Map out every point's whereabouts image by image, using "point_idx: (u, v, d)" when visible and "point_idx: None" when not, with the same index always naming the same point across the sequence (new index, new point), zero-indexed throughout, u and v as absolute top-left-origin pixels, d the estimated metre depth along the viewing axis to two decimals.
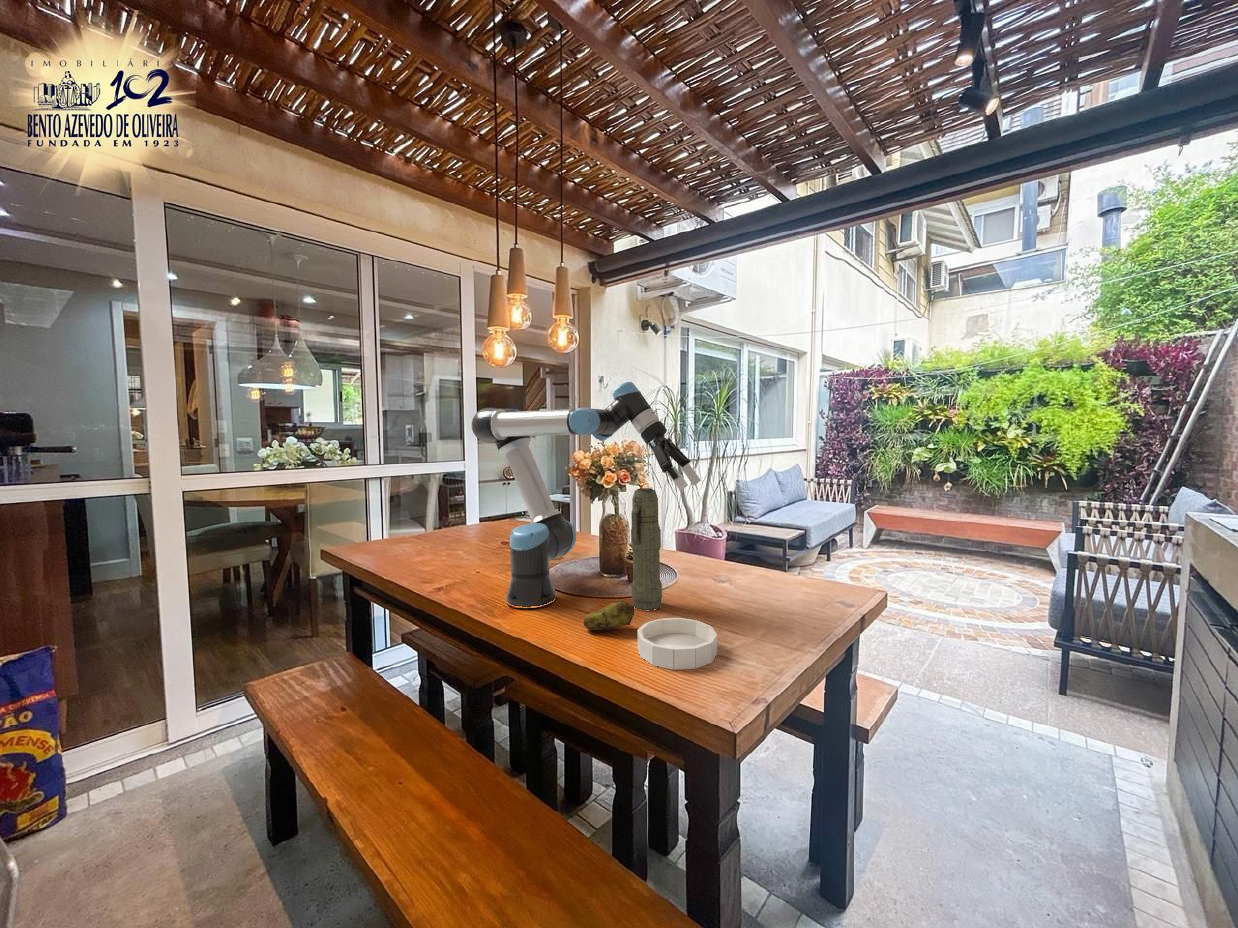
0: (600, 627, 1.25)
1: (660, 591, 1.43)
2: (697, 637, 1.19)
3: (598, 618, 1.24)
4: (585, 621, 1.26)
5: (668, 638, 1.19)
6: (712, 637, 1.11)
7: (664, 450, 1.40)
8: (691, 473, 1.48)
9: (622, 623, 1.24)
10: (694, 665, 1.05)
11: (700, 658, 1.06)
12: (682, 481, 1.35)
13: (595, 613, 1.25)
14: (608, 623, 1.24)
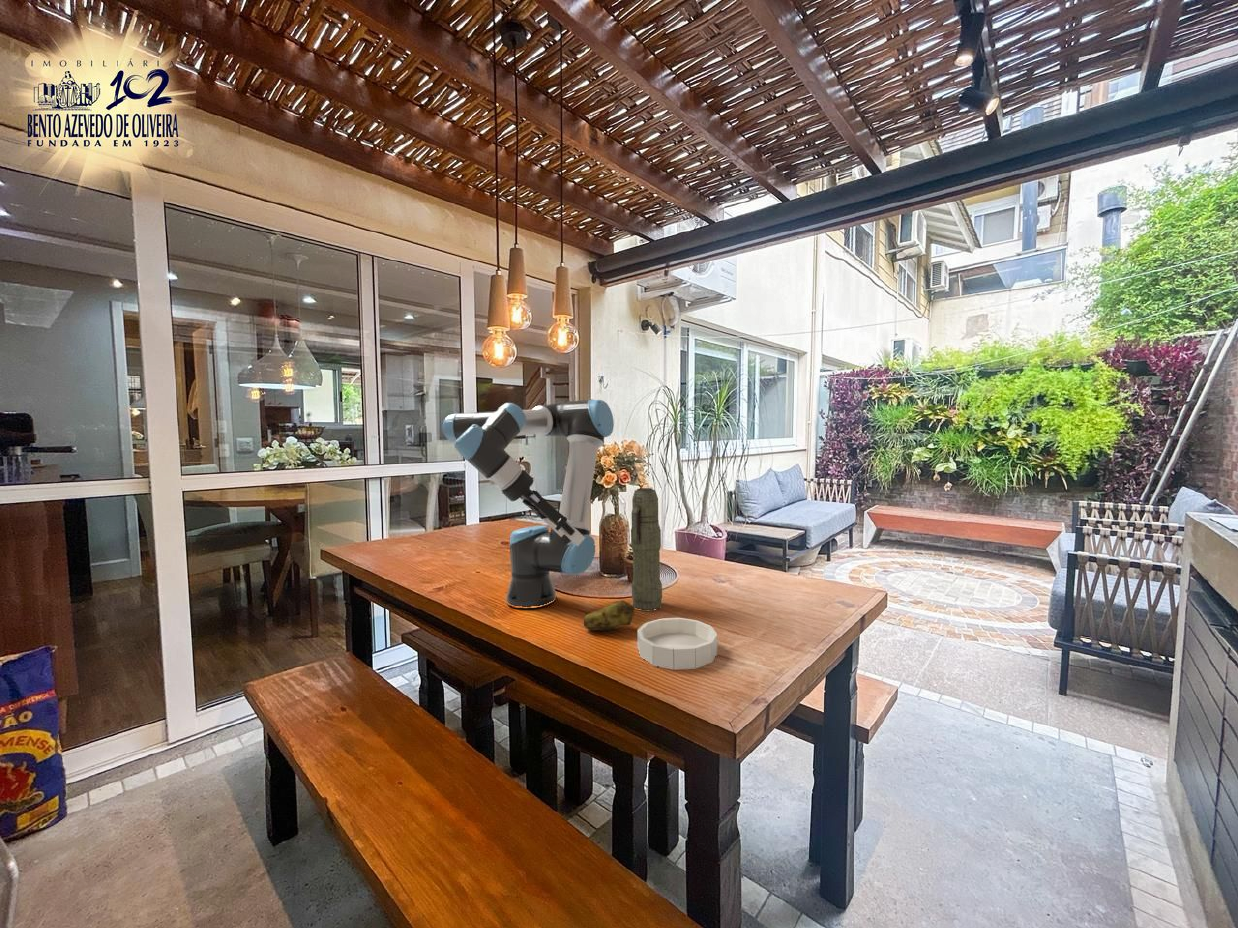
0: (600, 627, 1.25)
1: (660, 591, 1.43)
2: (697, 637, 1.19)
3: (598, 618, 1.24)
4: (585, 621, 1.26)
5: (668, 638, 1.19)
6: (712, 637, 1.11)
7: None
8: None
9: (622, 623, 1.24)
10: (694, 665, 1.05)
11: (700, 658, 1.06)
12: None
13: (595, 613, 1.25)
14: (608, 623, 1.24)
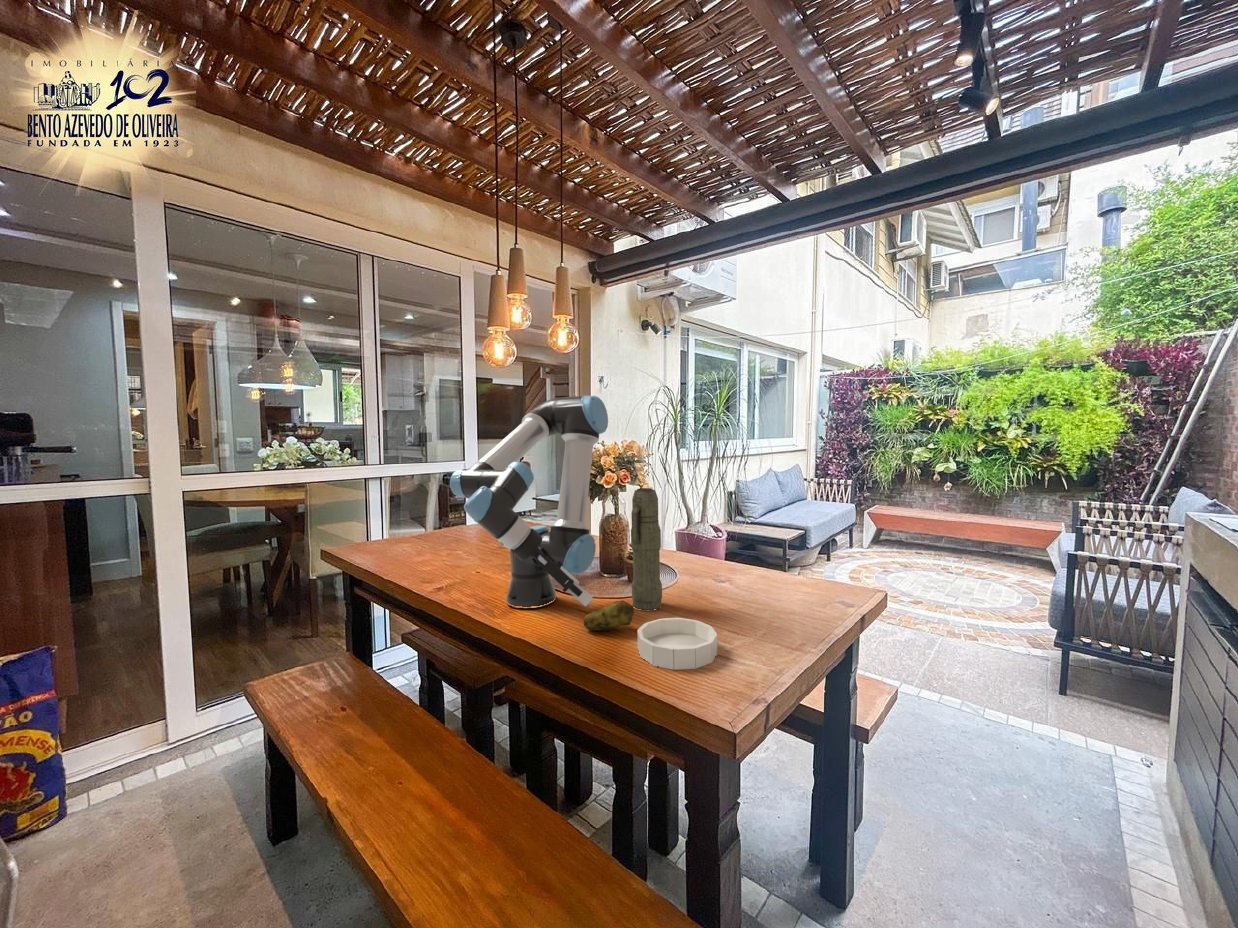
0: (599, 628, 1.25)
1: (660, 591, 1.43)
2: (697, 637, 1.19)
3: (598, 619, 1.24)
4: (585, 621, 1.26)
5: (668, 638, 1.19)
6: (712, 637, 1.11)
7: None
8: None
9: (622, 623, 1.24)
10: (694, 665, 1.05)
11: (700, 658, 1.06)
12: None
13: (595, 613, 1.25)
14: (608, 623, 1.24)
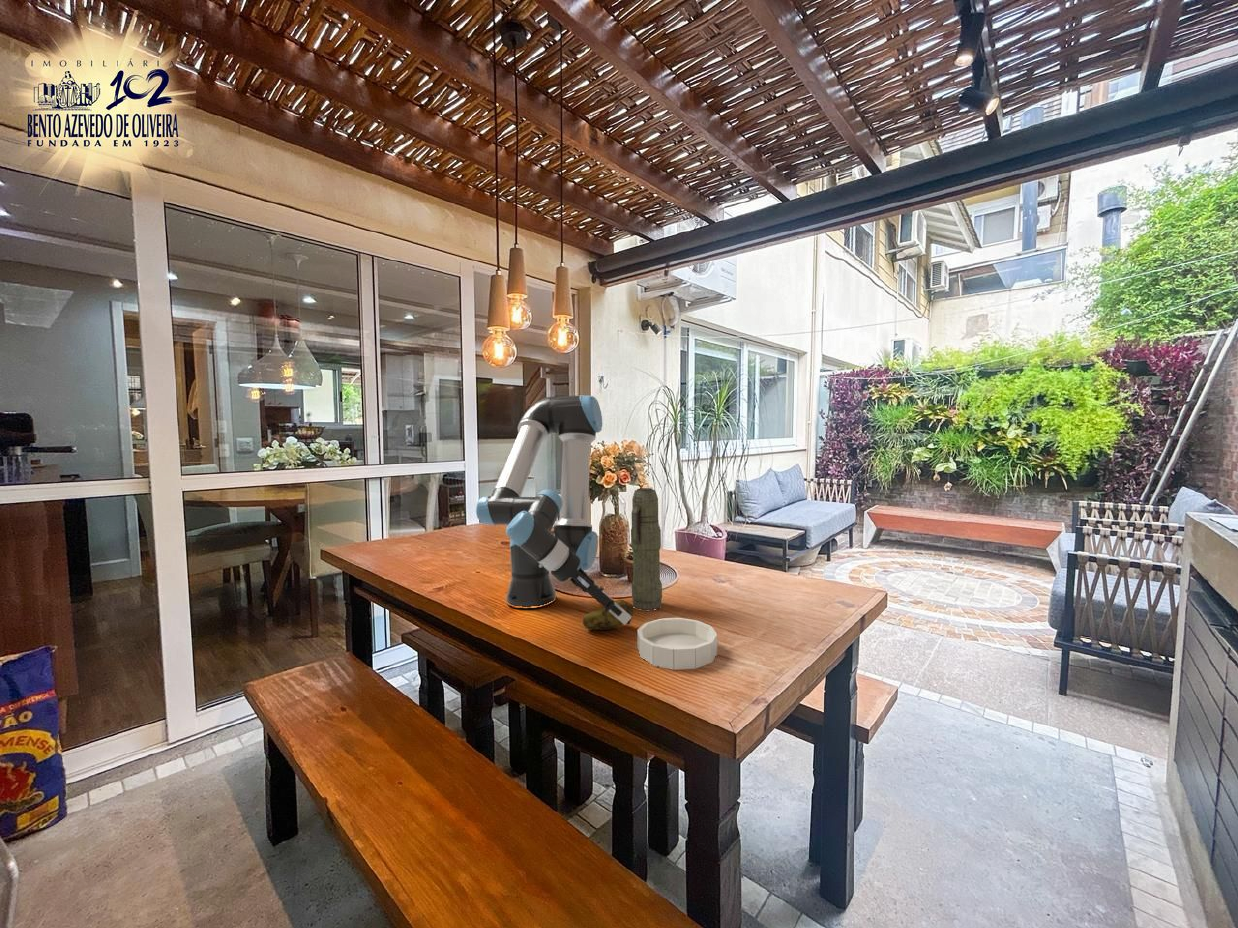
0: (599, 627, 1.25)
1: (660, 591, 1.43)
2: (697, 637, 1.19)
3: (598, 618, 1.24)
4: (585, 621, 1.26)
5: (668, 638, 1.19)
6: (712, 637, 1.11)
7: None
8: None
9: None
10: (694, 665, 1.05)
11: (700, 658, 1.06)
12: None
13: (595, 612, 1.26)
14: (608, 622, 1.24)
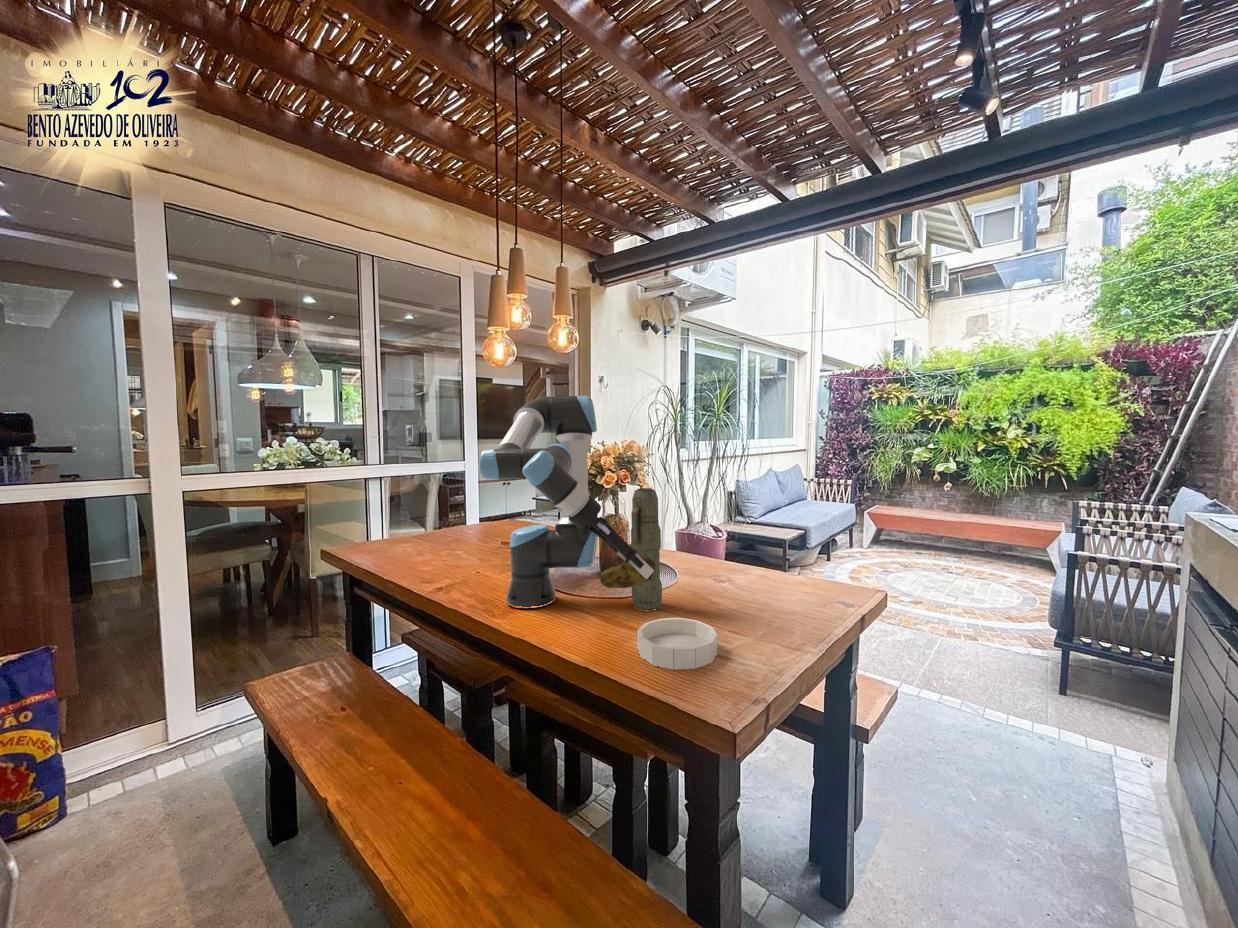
0: (618, 583, 1.16)
1: (660, 591, 1.43)
2: (697, 637, 1.19)
3: (618, 572, 1.15)
4: (602, 577, 1.17)
5: (668, 638, 1.19)
6: (712, 637, 1.11)
7: None
8: None
9: (643, 577, 1.15)
10: (694, 665, 1.05)
11: (700, 658, 1.06)
12: None
13: (613, 567, 1.16)
14: (628, 577, 1.15)
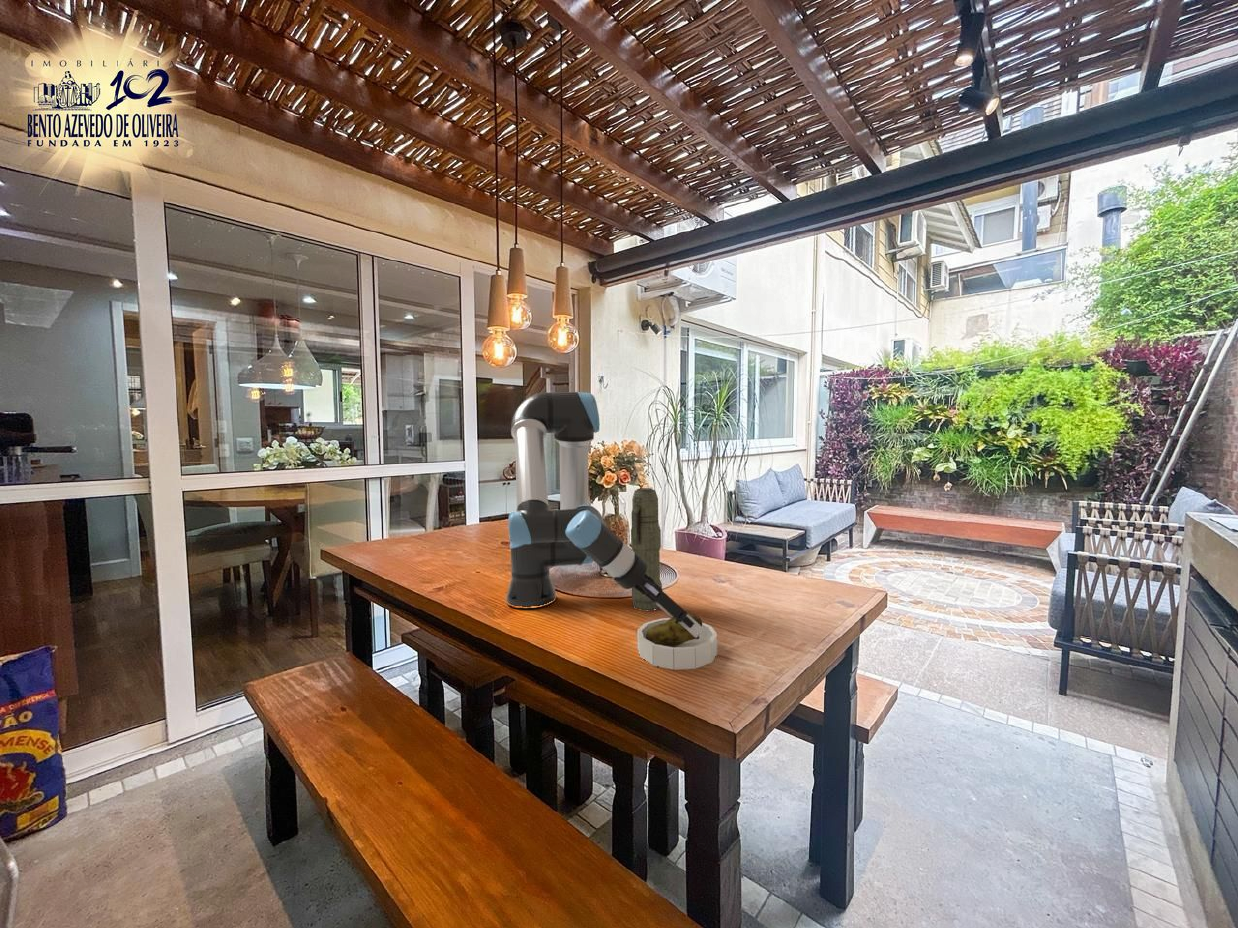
0: (665, 643, 1.12)
1: None
2: None
3: (665, 633, 1.11)
4: (648, 637, 1.13)
5: None
6: (712, 637, 1.11)
7: None
8: None
9: (691, 637, 1.12)
10: (694, 665, 1.05)
11: (700, 658, 1.06)
12: None
13: (660, 627, 1.12)
14: (676, 638, 1.11)
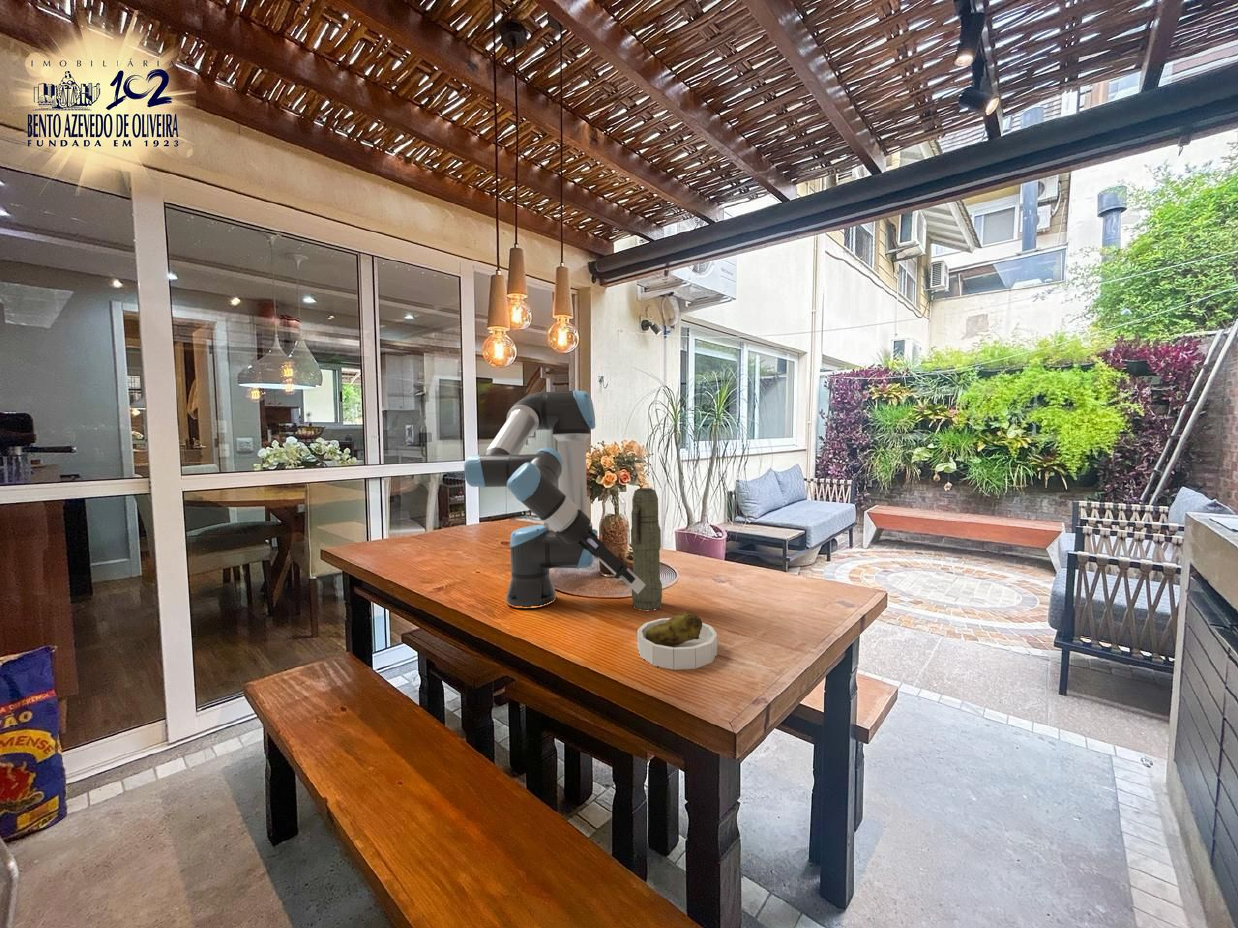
0: (665, 643, 1.12)
1: (660, 591, 1.43)
2: None
3: (665, 633, 1.11)
4: (648, 637, 1.13)
5: None
6: (712, 637, 1.11)
7: None
8: None
9: (691, 637, 1.12)
10: (694, 665, 1.05)
11: (700, 658, 1.06)
12: None
13: (660, 627, 1.12)
14: (676, 638, 1.11)
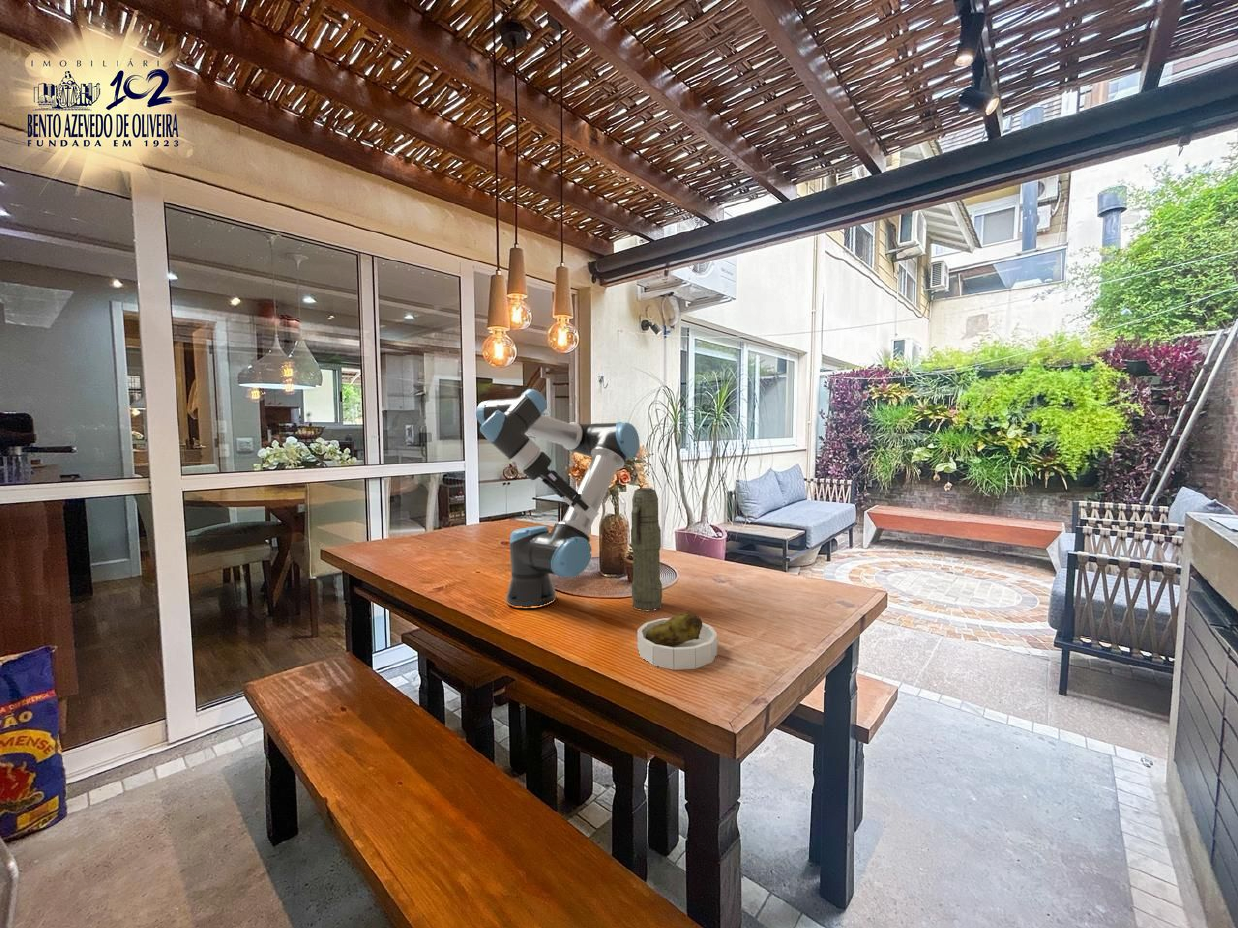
0: (665, 643, 1.12)
1: (660, 591, 1.43)
2: None
3: (665, 633, 1.11)
4: (648, 637, 1.13)
5: None
6: (712, 637, 1.11)
7: None
8: None
9: (691, 637, 1.12)
10: (694, 665, 1.05)
11: (700, 658, 1.06)
12: None
13: (660, 627, 1.12)
14: (676, 638, 1.11)
